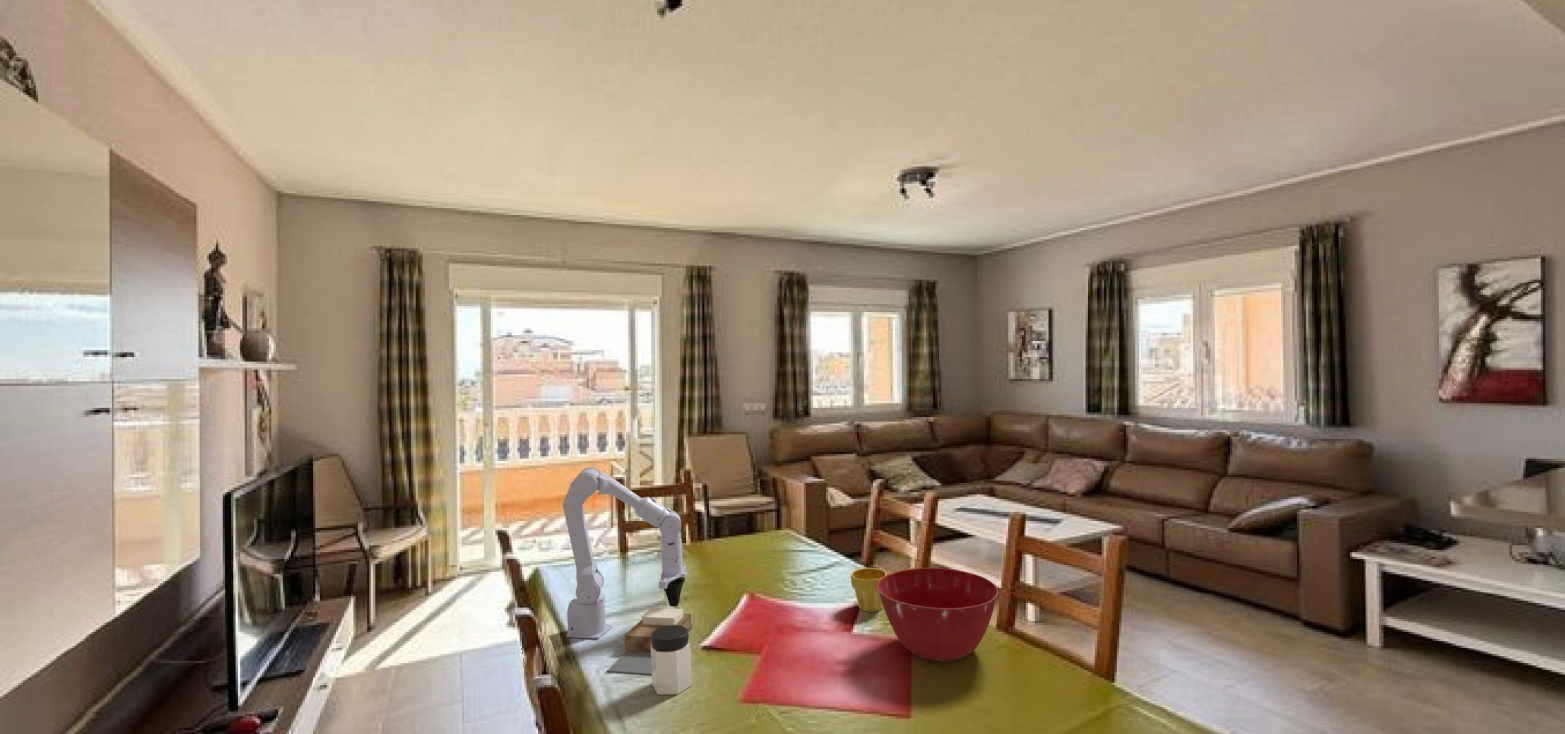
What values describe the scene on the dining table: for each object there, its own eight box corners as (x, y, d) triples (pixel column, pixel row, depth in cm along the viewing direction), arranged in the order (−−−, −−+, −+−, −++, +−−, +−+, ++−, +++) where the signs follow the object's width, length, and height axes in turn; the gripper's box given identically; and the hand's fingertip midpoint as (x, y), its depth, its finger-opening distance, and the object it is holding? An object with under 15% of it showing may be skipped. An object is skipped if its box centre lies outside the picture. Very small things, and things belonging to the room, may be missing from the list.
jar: (696, 689, 139) (693, 635, 139) (659, 699, 136) (657, 644, 136) (684, 672, 147) (681, 621, 147) (649, 681, 144) (646, 629, 144)
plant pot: (847, 612, 178) (846, 577, 178) (857, 599, 188) (856, 566, 187) (884, 616, 174) (882, 581, 174) (892, 602, 184) (890, 569, 184)
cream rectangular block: (642, 624, 166) (641, 616, 166) (651, 614, 172) (651, 607, 172) (674, 625, 164) (674, 618, 164) (683, 616, 170) (682, 609, 170)
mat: (607, 671, 149) (606, 670, 149) (626, 652, 159) (626, 651, 159) (654, 675, 147) (654, 673, 147) (671, 655, 157) (671, 653, 157)
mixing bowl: (921, 615, 174) (918, 559, 174) (1022, 645, 154) (1019, 581, 153) (856, 651, 154) (853, 588, 154) (962, 691, 134) (959, 619, 134)
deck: (625, 651, 160) (624, 635, 160) (650, 626, 174) (649, 611, 174) (670, 654, 157) (669, 637, 157) (691, 628, 172) (691, 613, 172)
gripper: (675, 565, 168) (677, 616, 168) (694, 549, 182) (696, 596, 182) (650, 564, 169) (653, 615, 169) (671, 548, 184) (673, 595, 184)
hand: (674, 605), depth 176 cm, fingers closed
